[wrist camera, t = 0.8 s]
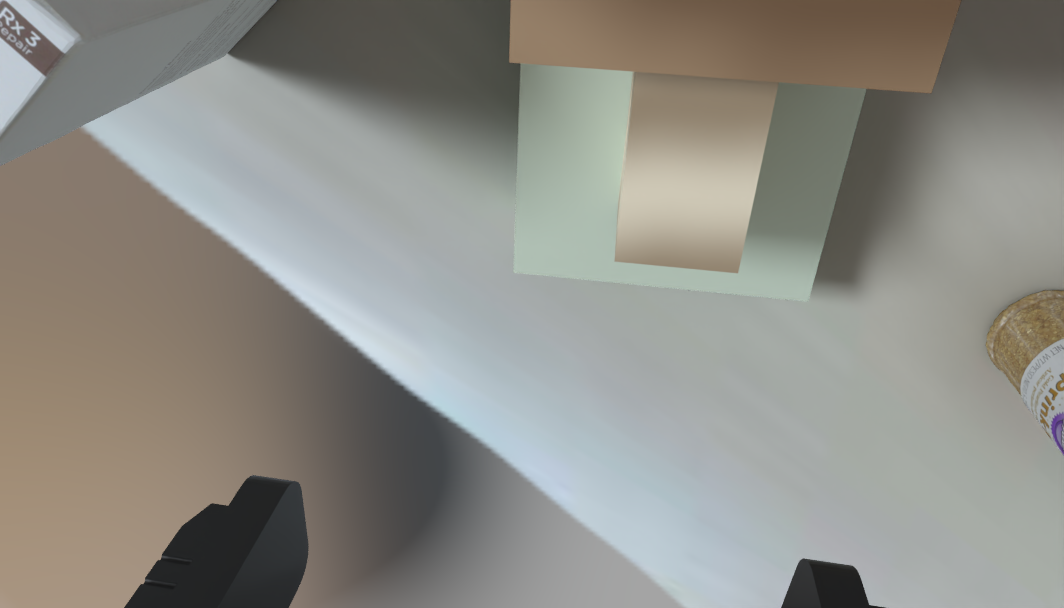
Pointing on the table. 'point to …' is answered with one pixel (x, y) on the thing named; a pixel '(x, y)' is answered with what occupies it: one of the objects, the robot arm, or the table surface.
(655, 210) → the birch block
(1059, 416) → the sprinkles bottle
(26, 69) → the skincare box
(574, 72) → the tunnel deck
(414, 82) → the table surface
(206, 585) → the robot arm
